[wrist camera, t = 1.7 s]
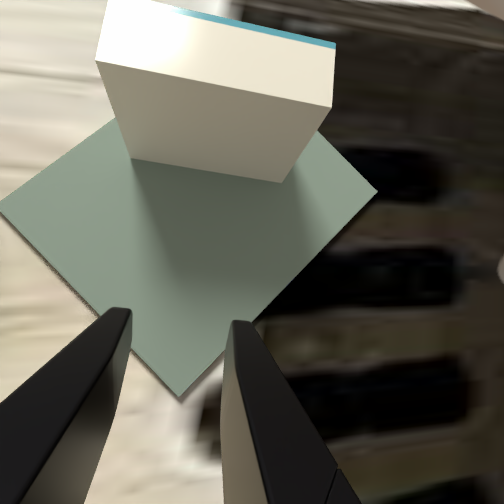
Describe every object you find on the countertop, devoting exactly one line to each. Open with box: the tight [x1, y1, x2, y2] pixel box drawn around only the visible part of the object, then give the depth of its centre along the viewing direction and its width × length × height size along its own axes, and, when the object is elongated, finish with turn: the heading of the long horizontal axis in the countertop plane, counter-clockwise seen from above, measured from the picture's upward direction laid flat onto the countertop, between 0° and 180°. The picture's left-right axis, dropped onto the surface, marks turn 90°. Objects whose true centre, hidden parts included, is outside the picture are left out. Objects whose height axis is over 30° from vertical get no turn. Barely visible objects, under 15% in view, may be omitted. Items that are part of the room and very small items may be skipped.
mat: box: [0, 117, 377, 397], centre depth 21 cm, size 14×17×1 cm
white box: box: [95, 0, 336, 183], centre depth 18 cm, size 3×9×8 cm, turn 84°
